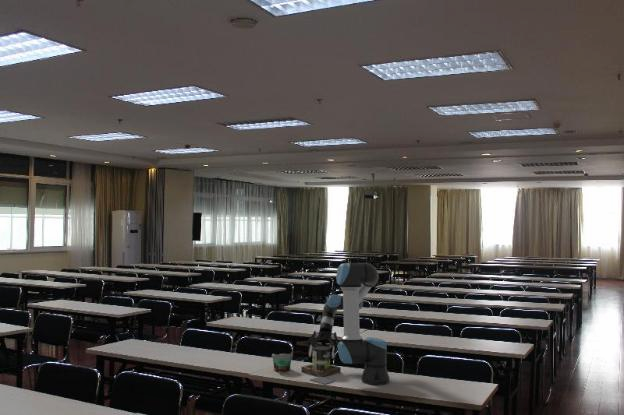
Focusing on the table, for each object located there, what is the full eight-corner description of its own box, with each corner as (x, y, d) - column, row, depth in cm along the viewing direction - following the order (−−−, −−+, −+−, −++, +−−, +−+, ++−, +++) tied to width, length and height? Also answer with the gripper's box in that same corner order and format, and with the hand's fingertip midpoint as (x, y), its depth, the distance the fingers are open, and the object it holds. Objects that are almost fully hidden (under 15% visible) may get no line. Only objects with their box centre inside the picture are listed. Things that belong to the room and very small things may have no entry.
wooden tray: (340, 372, 341) (340, 367, 341) (322, 377, 329) (322, 372, 329) (320, 367, 352) (320, 362, 352) (301, 372, 340) (301, 366, 340)
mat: (335, 381, 322) (335, 380, 322) (324, 384, 316) (324, 383, 316) (320, 377, 329) (320, 376, 329) (309, 380, 323) (309, 379, 323)
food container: (273, 373, 337) (273, 355, 337) (271, 370, 343) (271, 353, 343) (294, 371, 340) (294, 354, 340) (292, 369, 346) (292, 352, 346)
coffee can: (333, 371, 341) (333, 347, 341) (322, 375, 333) (323, 350, 333) (319, 368, 347) (319, 344, 348) (308, 372, 339) (308, 348, 339)
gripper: (347, 330, 356) (342, 361, 342) (307, 328, 362) (301, 358, 347) (346, 323, 351) (341, 354, 337) (305, 321, 357) (299, 351, 342)
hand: (321, 356), depth 342 cm, fingers open, 13 cm apart
